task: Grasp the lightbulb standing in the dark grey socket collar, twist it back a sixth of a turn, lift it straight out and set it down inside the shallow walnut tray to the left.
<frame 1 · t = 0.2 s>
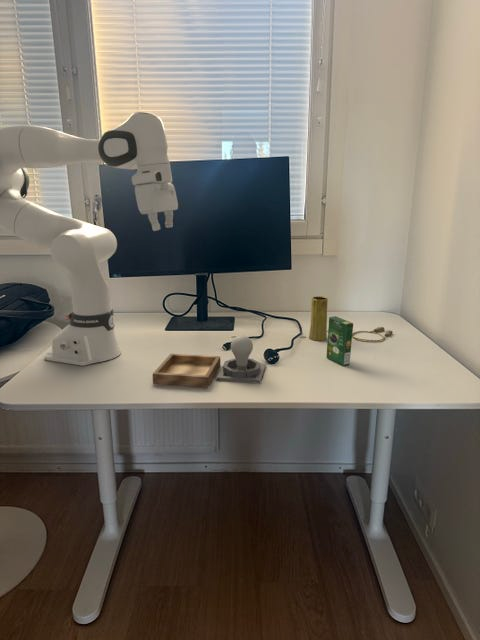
hand: (163, 228, 123), 39 cm above the table, tool pointing down, fingers open, 8 cm apart
coffee box: (338, 362, 131), on the table
socket: (241, 373, 123), on the table
tray: (188, 374, 122), on the table
vase: (317, 338, 152), on the table
lightbulb: (241, 373, 123), resting in socket
extension cord: (372, 338, 154), on the table
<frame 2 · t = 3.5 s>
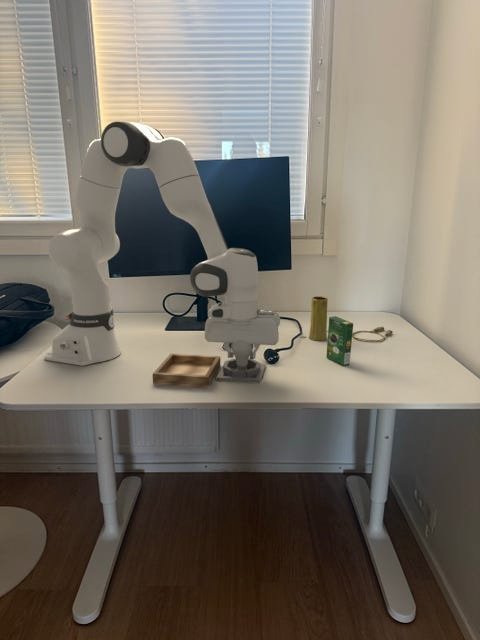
hand: (241, 357, 122), 5 cm above the table, tool pointing down, fingers closed on lightbulb, 5 cm apart
lightbulb: (241, 373, 123), resting in socket, touching gripper
everything else where it was.
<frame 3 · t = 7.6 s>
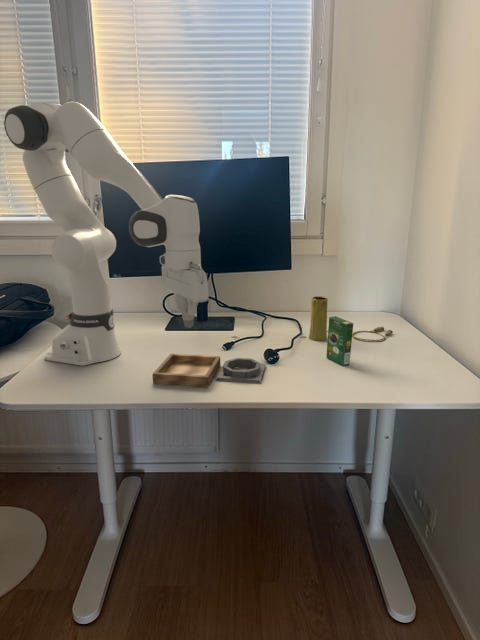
hand: (185, 312, 117), 18 cm above the table, tool pointing down, fingers closed on lightbulb, 5 cm apart
lightbulb: (189, 329, 119), point 13 cm above the table, touching gripper
everything else where it was.
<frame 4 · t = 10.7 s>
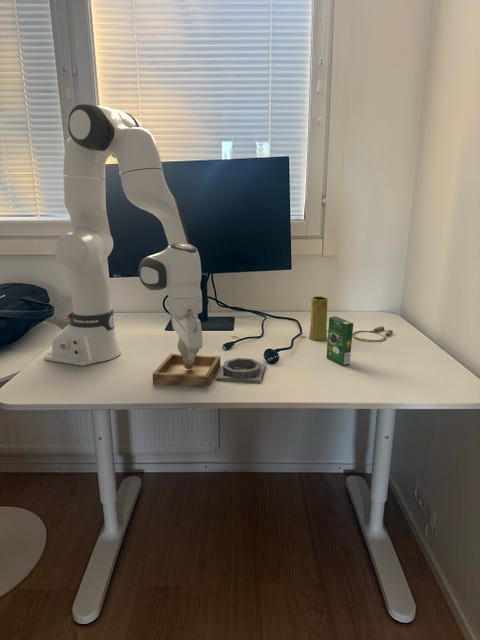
hand: (187, 354, 121), 6 cm above the table, tool pointing down, fingers closed on lightbulb, 6 cm apart
lightbulb: (188, 369, 124), point 1 cm above the table, touching gripper, tray
everything else where it was.
when the fingers open (6 cm above the table, at t = 10.7 s): lightbulb moves 9 cm, resting on tray.
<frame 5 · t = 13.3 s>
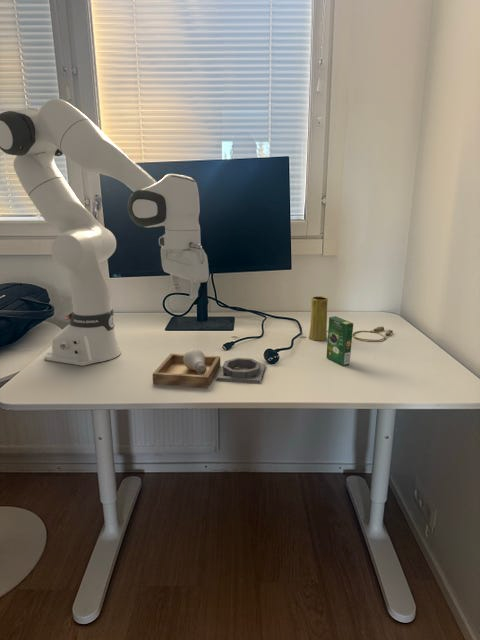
hand: (185, 294, 116), 23 cm above the table, tool pointing down, fingers open, 8 cm apart
lightbulb: (203, 371, 117), point 3 cm above the table, touching tray
everything else where it was.
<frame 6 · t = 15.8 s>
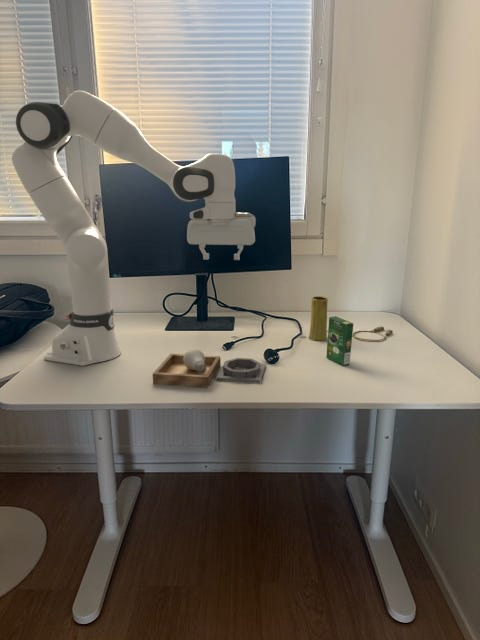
hand: (221, 259, 133), 29 cm above the table, tool pointing down, fingers open, 8 cm apart
nothing on the table moved.
at the end: lightbulb inside the target area on the tray (6.6 cm from its centre), point 3.4 cm above the tray's base; lightbulb touching tray; the gripper is holding nothing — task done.
